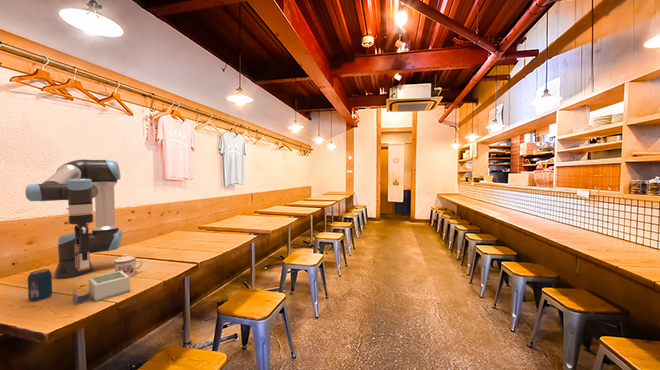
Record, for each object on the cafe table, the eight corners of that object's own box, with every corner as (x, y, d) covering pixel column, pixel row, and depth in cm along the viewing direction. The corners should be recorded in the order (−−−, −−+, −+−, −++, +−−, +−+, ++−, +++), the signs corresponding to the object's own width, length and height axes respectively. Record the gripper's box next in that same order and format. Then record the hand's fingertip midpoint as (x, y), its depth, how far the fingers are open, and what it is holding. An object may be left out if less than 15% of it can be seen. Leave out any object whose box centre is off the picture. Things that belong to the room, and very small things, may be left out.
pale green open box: (88, 293, 115) (88, 278, 115) (121, 284, 125) (121, 270, 125) (95, 301, 107) (94, 285, 107) (130, 291, 116) (129, 276, 116)
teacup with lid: (114, 280, 130) (113, 258, 130) (114, 275, 137) (114, 254, 137) (143, 274, 138) (142, 253, 138) (142, 269, 145) (141, 250, 145)
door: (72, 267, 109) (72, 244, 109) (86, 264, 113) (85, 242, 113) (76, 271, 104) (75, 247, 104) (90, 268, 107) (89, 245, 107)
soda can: (51, 293, 116) (51, 267, 116) (52, 297, 111) (51, 270, 111) (28, 298, 110) (27, 271, 110) (28, 303, 106) (27, 275, 106)
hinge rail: (72, 299, 109) (71, 288, 109) (90, 294, 113) (89, 284, 113) (75, 305, 104) (74, 293, 104) (93, 299, 109) (93, 288, 108)
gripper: (65, 213, 112) (66, 263, 112) (72, 217, 99) (74, 273, 99) (88, 211, 118) (89, 258, 118) (98, 214, 105) (99, 268, 105)
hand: (82, 265), depth 109 cm, fingers closed on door, 9 cm apart
